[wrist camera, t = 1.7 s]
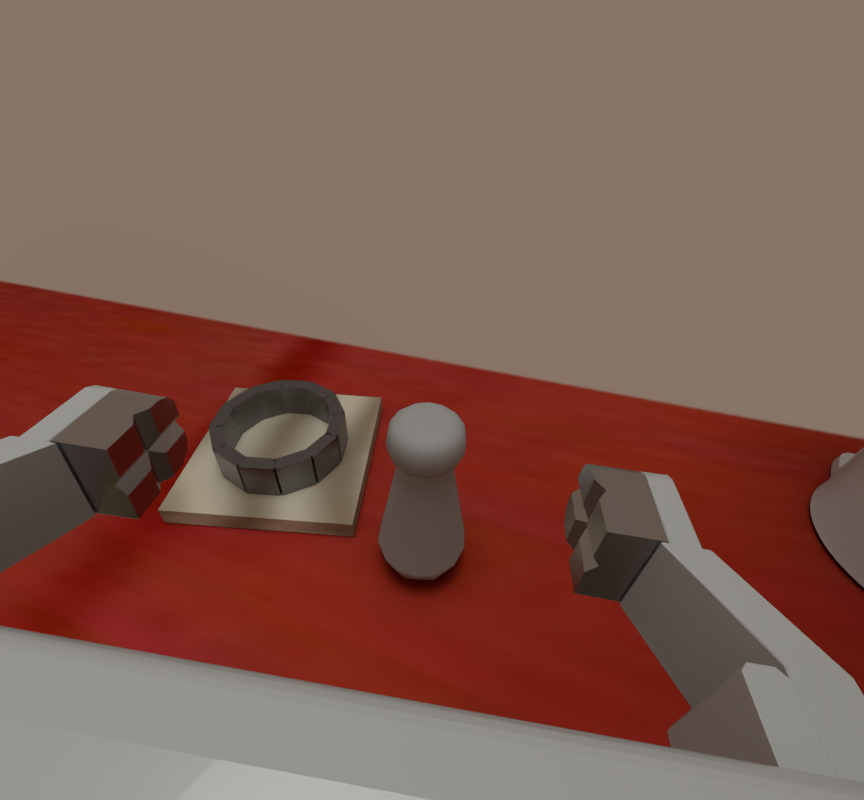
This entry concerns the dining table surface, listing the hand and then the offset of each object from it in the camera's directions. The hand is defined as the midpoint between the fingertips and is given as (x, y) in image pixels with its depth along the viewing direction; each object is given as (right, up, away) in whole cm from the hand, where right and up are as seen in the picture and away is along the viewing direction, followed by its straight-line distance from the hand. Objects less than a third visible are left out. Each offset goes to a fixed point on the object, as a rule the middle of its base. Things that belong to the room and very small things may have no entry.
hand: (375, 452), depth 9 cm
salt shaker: (0, -10, +23) cm, 25 cm away
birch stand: (-11, -4, +29) cm, 31 cm away
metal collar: (-11, -3, +28) cm, 30 cm away
